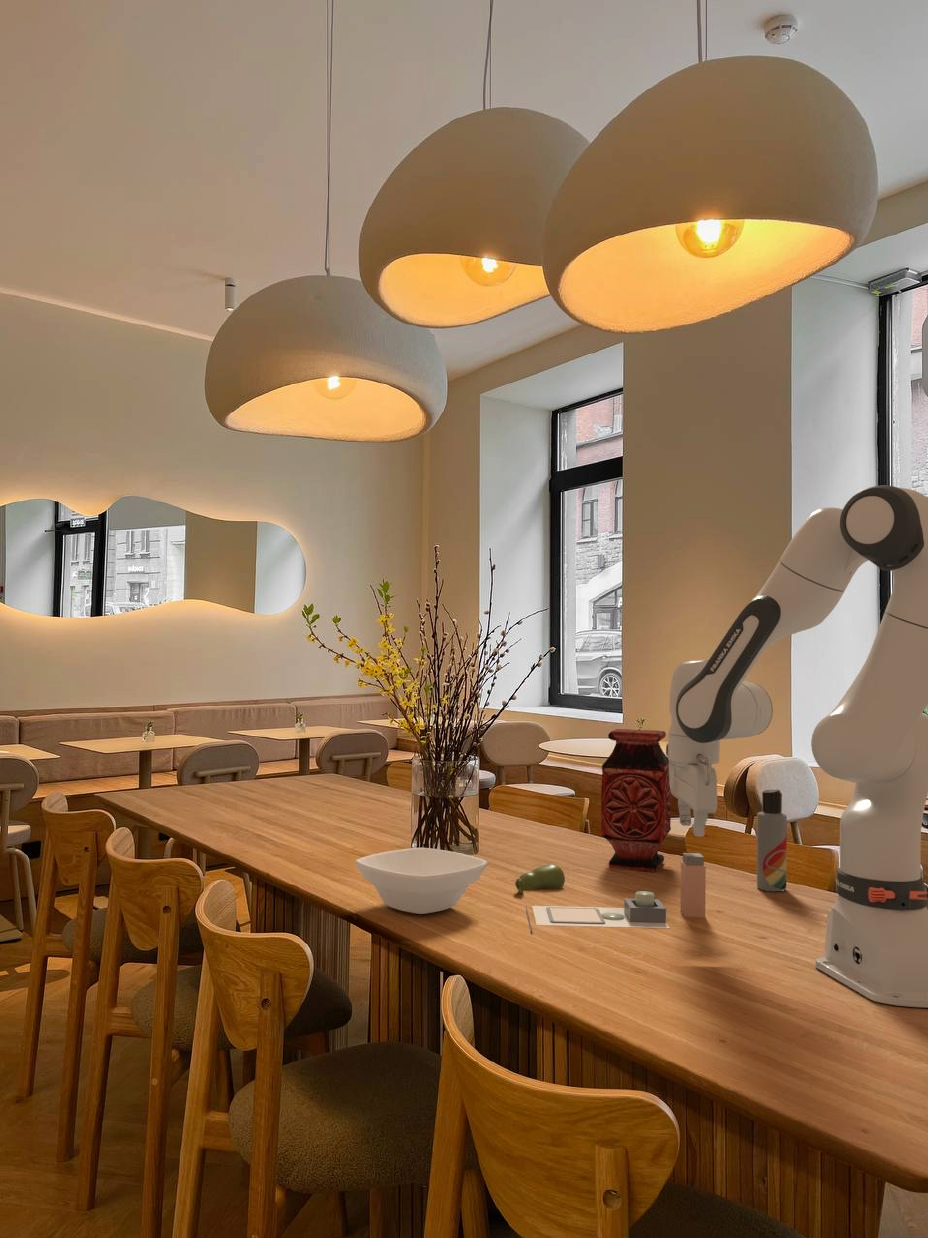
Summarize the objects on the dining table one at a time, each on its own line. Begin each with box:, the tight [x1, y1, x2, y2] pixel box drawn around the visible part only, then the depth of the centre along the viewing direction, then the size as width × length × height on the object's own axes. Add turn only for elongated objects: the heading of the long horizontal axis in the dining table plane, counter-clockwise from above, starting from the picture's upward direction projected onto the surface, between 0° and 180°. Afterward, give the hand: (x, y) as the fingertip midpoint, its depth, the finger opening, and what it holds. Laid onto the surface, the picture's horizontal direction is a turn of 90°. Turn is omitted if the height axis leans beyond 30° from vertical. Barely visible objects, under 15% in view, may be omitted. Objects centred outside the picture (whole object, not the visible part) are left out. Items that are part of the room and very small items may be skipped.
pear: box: [514, 863, 566, 896], centre depth 178 cm, size 6×5×10 cm
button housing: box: [623, 898, 667, 924], centre depth 157 cm, size 6×6×2 cm
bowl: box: [354, 847, 489, 915], centre depth 165 cm, size 21×21×9 cm
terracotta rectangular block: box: [679, 852, 707, 918], centre depth 160 cm, size 4×4×12 cm
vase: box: [600, 728, 672, 873], centre depth 205 cm, size 14×14×30 cm
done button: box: [634, 890, 655, 907], centre depth 157 cm, size 3×3×2 cm
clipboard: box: [525, 905, 670, 935], centre depth 157 cm, size 14×24×1 cm, turn 90°
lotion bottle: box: [756, 789, 788, 892], centre depth 185 cm, size 6×6×20 cm
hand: (691, 830), depth 161 cm, fingers open, 8 cm apart
